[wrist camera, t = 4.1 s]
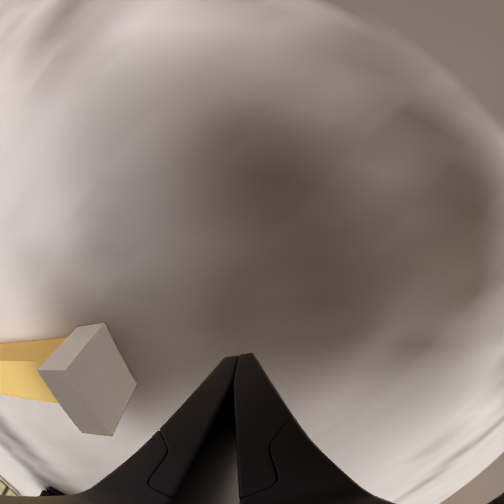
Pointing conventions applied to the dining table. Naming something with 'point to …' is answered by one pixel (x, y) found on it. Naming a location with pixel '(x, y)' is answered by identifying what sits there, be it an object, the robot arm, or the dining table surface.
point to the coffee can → (7, 488)
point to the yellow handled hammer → (71, 376)
